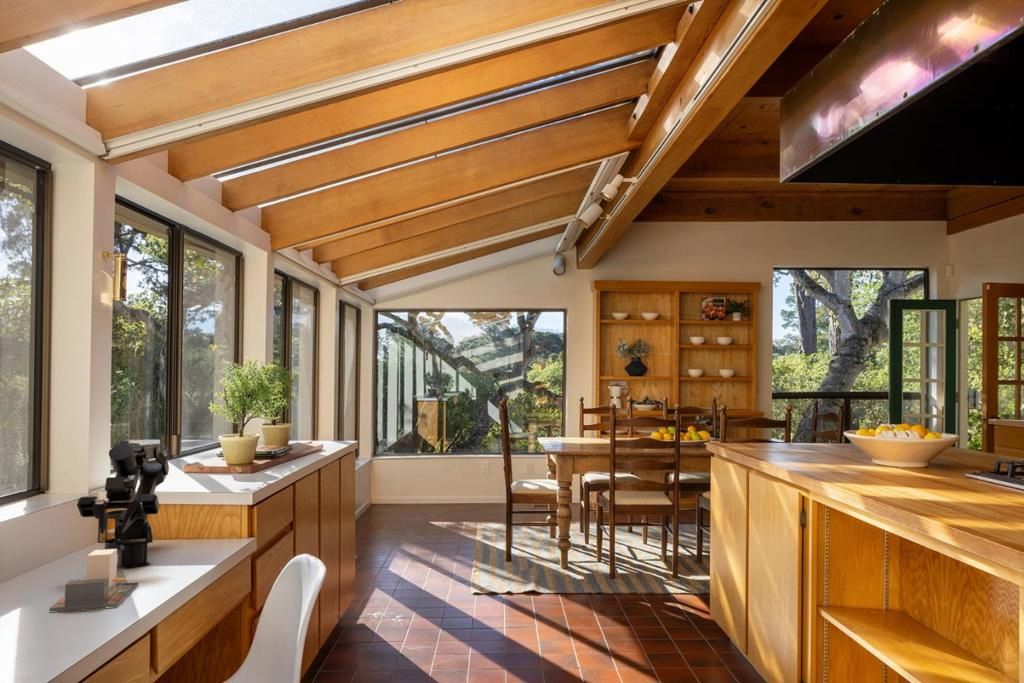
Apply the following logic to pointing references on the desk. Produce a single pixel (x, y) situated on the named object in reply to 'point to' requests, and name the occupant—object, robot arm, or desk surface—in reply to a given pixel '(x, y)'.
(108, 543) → the french press
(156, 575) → the desk surface
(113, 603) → the gauge base
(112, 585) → the cream box
